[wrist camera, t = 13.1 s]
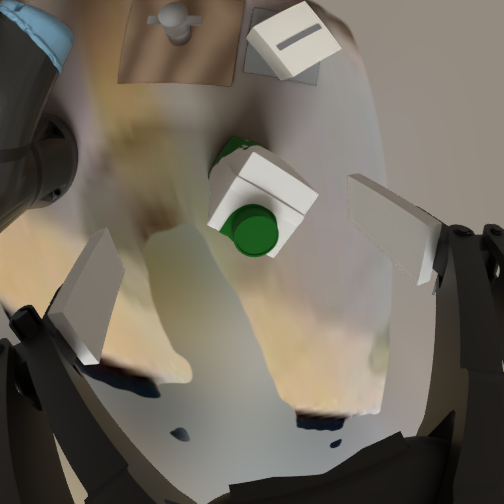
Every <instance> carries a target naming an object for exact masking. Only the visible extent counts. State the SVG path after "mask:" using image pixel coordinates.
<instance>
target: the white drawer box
mask: <svg viewBox="0 0 504 504" xmlns="http://www.w3.org/2000/svg"><path fill="white" fill-rule="evenodd" d="M246 39H247V40H248V41H249V42H250V44H251V45H252V46H253V47H254V48H255V49H256V51H257V52H258V53H259V54H260V55H261V57H262V58H263V59H264V60H265V61H266V63H267V64H268V65H269V66H270V68H271V69H272V70H273V71H274V73H275V74H276V75H277V76H278V78H279V79H280V80H281V81H282V80H285V79H288V78H292V77H294V76H296V75H297V74H299V73H301V72H302V71H304V70H306V69H307V68H309V67H311V66H312V65H314V64H316V63H317V62H319V61H321V60H323V59H324V58H326V57H328V56H330V55H331V54H333V53H335V52H337V51H339V50H341V47H340V46H339V44H338V43H337V41H336V40H335V39H334V37H333V36H332V35H331V33H330V32H329V30H328V29H327V28H326V27H325V25H324V24H323V23H322V21H321V20H320V19H319V18H318V16H317V15H316V14H315V13H314V11H313V10H312V9H311V8H310V7H309V5H308V4H307V3H306V2H305V1H304V2H301V3H299V4H297V5H295V6H293V7H290V8H288V9H286V10H284V11H282V12H280V13H278V14H276V15H274V16H272V17H270V18H269V19H267V20H265V21H263V22H261V23H259V24H258V25H256V26H254V27H253V28H252V29H251V31H250V32H249V34H248V35H247V37H246Z"/></svg>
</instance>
